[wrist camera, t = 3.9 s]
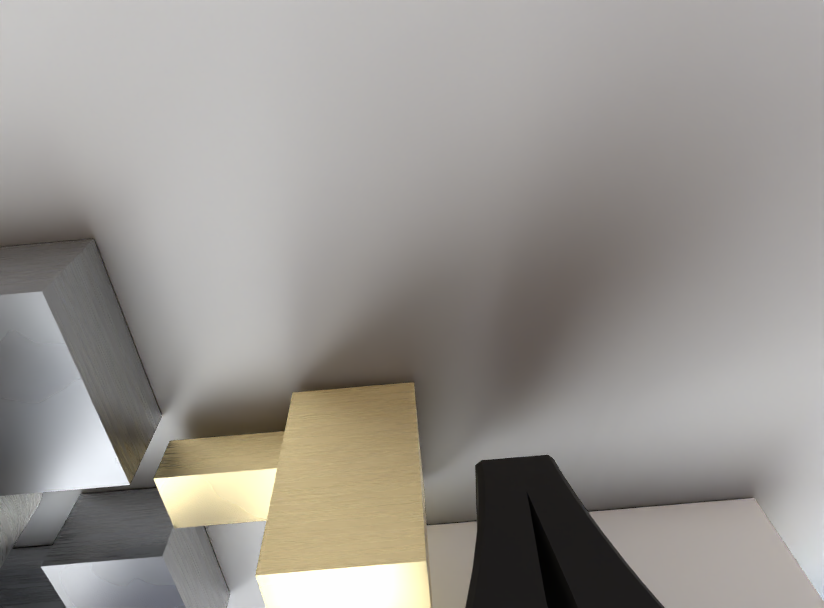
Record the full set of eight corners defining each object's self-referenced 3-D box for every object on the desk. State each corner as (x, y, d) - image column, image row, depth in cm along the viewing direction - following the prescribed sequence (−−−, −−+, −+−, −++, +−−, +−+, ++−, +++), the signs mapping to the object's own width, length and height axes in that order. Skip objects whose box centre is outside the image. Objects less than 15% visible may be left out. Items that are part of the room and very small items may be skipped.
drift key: (424, 488, 13) (437, 675, 10) (200, 507, 13) (137, 700, 10) (414, 382, 12) (426, 560, 8) (161, 403, 12) (70, 590, 8)
